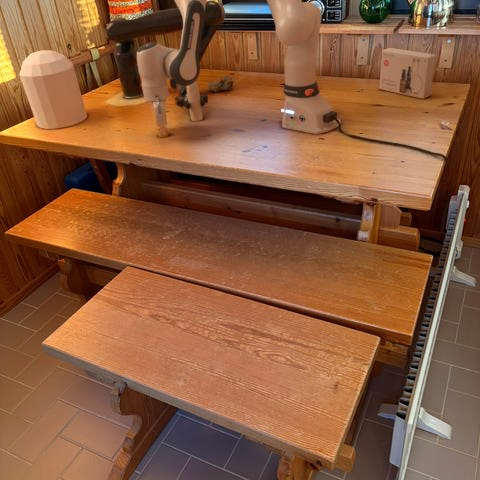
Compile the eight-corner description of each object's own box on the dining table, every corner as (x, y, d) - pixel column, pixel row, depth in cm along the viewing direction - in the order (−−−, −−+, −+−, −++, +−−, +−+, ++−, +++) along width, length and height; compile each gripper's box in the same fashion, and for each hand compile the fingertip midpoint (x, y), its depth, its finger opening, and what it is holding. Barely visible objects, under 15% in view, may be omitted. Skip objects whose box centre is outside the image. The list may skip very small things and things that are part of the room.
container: (71, 129, 186) (49, 56, 170) (26, 128, 191) (0, 58, 175) (96, 110, 202) (78, 43, 186) (54, 111, 207) (33, 45, 191)
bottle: (202, 116, 186) (195, 69, 176) (203, 119, 182) (197, 72, 172) (190, 118, 186) (183, 70, 175) (191, 121, 182) (184, 73, 171)
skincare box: (377, 89, 194) (381, 50, 185) (385, 86, 197) (389, 47, 188) (423, 99, 180) (429, 56, 171) (430, 95, 183) (437, 53, 174)
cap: (157, 137, 171) (156, 131, 170) (159, 133, 174) (158, 127, 173) (167, 136, 171) (166, 130, 170) (169, 132, 174) (168, 127, 173)
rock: (207, 90, 217) (212, 93, 208) (206, 76, 214) (210, 78, 205) (229, 87, 219) (235, 90, 210) (228, 73, 216) (233, 75, 207)
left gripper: (169, 87, 188) (176, 98, 175) (203, 81, 191) (213, 92, 177) (172, 105, 193) (179, 118, 179) (206, 99, 195) (215, 111, 182)
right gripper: (167, 99, 155) (174, 138, 163) (162, 83, 172) (168, 119, 180) (148, 102, 155) (156, 141, 162) (145, 86, 171) (152, 122, 179)
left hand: (196, 105), depth 178 cm, fingers closed on bottle, 5 cm apart
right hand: (162, 129), depth 171 cm, fingers open, 8 cm apart
